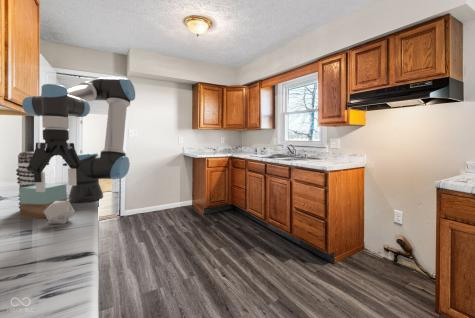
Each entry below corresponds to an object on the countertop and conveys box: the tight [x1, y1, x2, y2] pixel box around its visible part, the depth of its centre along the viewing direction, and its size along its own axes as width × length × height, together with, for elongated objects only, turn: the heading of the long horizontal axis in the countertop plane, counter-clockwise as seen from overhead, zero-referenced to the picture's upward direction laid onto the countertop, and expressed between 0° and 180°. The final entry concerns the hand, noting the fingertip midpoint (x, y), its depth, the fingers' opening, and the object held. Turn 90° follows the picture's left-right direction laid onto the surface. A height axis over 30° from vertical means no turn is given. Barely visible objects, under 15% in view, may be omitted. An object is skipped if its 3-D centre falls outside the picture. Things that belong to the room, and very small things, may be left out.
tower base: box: [19, 197, 68, 220], centre depth 99 cm, size 10×10×6 cm
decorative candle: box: [15, 151, 36, 212], centre depth 106 cm, size 9×9×25 cm
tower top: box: [18, 182, 68, 205], centre depth 99 cm, size 10×10×6 cm
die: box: [43, 200, 76, 225], centre depth 90 cm, size 8×9×10 cm
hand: (57, 188), depth 89 cm, fingers open, 13 cm apart
